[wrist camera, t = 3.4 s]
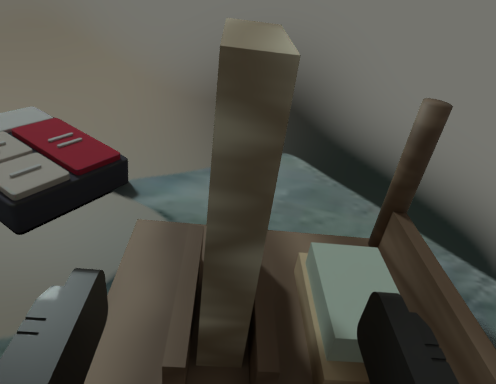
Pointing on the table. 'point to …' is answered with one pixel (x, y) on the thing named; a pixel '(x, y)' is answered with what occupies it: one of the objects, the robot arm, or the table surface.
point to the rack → (277, 294)
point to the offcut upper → (344, 293)
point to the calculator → (51, 169)
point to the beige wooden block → (242, 180)
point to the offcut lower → (323, 372)
